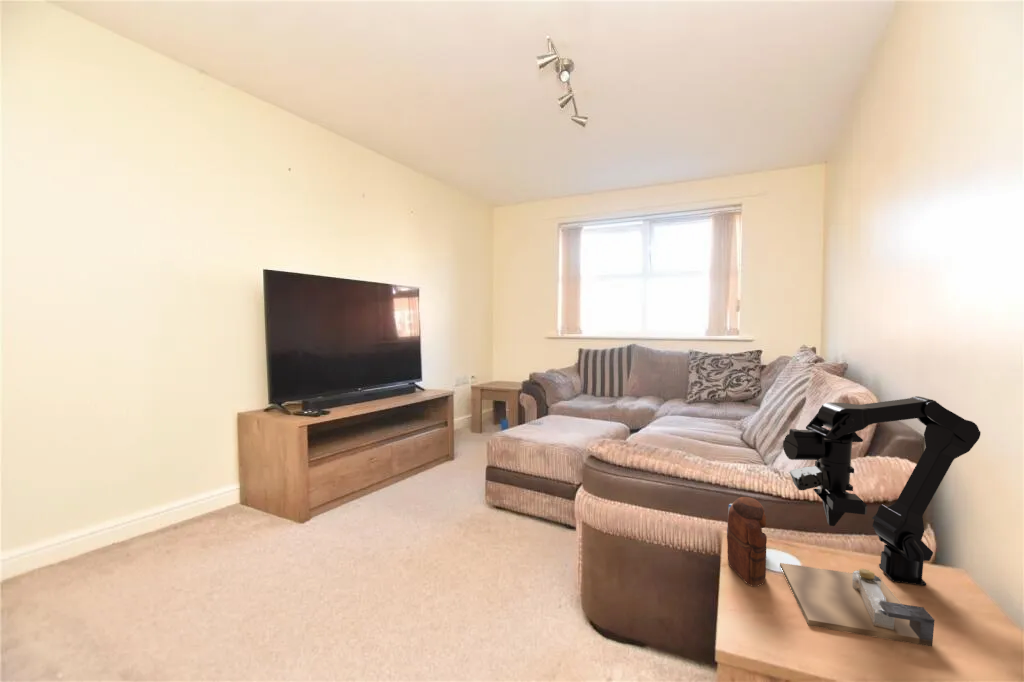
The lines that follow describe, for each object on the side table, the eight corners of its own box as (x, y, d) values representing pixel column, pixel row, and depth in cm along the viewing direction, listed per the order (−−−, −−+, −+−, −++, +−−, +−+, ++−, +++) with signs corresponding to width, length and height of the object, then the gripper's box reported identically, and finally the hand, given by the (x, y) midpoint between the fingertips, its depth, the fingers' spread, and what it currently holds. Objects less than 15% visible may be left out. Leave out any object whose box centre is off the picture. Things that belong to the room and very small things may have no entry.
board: (879, 581, 103) (880, 560, 102) (932, 646, 84) (934, 620, 83) (779, 567, 108) (780, 547, 108) (808, 625, 89) (809, 601, 89)
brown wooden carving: (775, 587, 101) (779, 509, 100) (748, 588, 101) (751, 510, 99) (744, 557, 113) (747, 487, 111) (720, 558, 113) (722, 488, 111)
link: (849, 579, 102) (850, 568, 101) (876, 585, 99) (877, 573, 99) (868, 623, 88) (868, 611, 88) (899, 631, 86) (900, 618, 85)
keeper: (921, 633, 87) (923, 607, 87) (932, 646, 84) (934, 619, 83) (878, 626, 89) (879, 600, 89) (886, 639, 86) (888, 612, 85)
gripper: (783, 443, 114) (780, 503, 116) (808, 470, 96) (804, 541, 98) (834, 447, 111) (830, 508, 113) (870, 476, 93) (865, 548, 95)
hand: (831, 525), depth 104 cm, fingers closed
